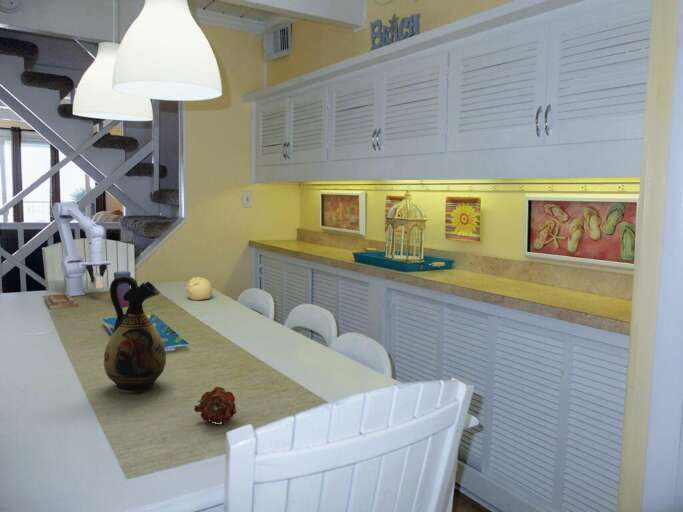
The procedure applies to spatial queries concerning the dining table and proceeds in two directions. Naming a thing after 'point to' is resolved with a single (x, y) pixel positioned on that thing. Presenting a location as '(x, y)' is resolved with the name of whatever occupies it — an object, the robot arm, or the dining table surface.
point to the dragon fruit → (217, 405)
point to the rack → (61, 301)
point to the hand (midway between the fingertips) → (96, 281)
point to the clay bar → (97, 281)
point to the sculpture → (199, 288)
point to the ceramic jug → (134, 341)
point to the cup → (122, 288)
